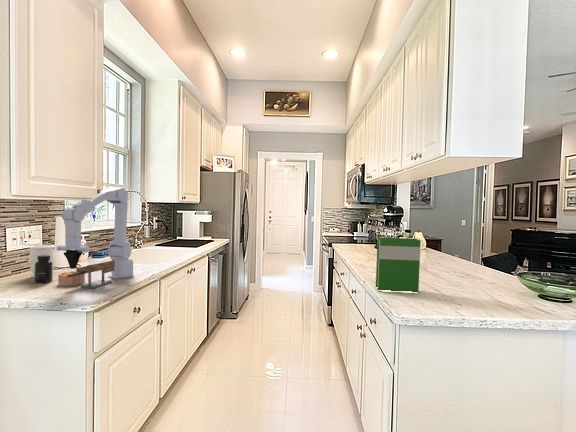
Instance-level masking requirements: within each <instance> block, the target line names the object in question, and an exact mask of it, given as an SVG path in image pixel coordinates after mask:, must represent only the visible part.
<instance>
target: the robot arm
mask: <svg viewBox="0 0 576 432" xmlns="http://www.w3.org/2000/svg"><path fill="white" fill-rule="evenodd" d="M105 201H106V202H108V203H109V204H112V205H113V206H114V207H115V211H114V212H115V213H114V226H113V227H114V229H113V230H114V231H113V233H114V234H113V240H111V241H110V242H109V245H108V248H107V256H108V257H109V259H110V260H111V261H115V267H114V271H111V272H110V273H111V274H108V275H107V276H108V277H109V278H112V279H115V280H116V279H122V278H123V279H124V278H130V277H134V276H135V275H134V261H133V259H132V257H131V255H132V248H131V243H130V241H128V239H127V227H128V226H127V225H128V222H127V221H128V208H129V207H128V205H129V204H128V203H129V202H128V201H129V192H128V191H127V190H126V188H124V187H105V188H103V189H101V191H100V192H99V193H97V194H96V195H95V196H93V197H91V198H90V199H89V198H83V199H81V201H80V202H78V203H77V204H73V205H72V207H66V208H65V209H64V210H63V212H62V214H61V219H62V220H63V224H64V226H65V227H64V230H65V231H64V235H65V238H64V245H56V251H58V252H59V251H63V255H64V257H65V258H66V261H67V263H68V266H69V269H70V270H71V269H76V268H78V264H79V263H78V262H79V260H80V258H81V257H82V255H83V253H90V251H91V247H90V246H83V245H82V221H83V220H84V219H85V216H86V215H88V214H90V213H91V212H93V211H94V210H95V208H96V206H98V205H100V204H102V203H103V202H105Z"/></svg>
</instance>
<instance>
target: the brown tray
mask: <svg viewBox="0 0 576 432" xmlns="http://www.w3.org/2000/svg"><path fill="white" fill-rule="evenodd" d="M114 267H115V261H112V260H110V261H104V262H99V263H93V264H89V265H86V266H85V265H84V266H80V267H76V268H75V270H76V271H77V272H78V273H74V274H70V275H67V276H68V277H73V276H77V275H81V274H85V275H86V274H88V270H91V273H94V272H99V271H100V272H102V270H103V271H104V274H107V273H111V271H114Z"/></svg>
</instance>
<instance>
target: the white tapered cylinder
mask: <svg viewBox="0 0 576 432" xmlns="http://www.w3.org/2000/svg"><path fill="white" fill-rule="evenodd" d="M54 248H56V246H55V245H54V244H34V245H33V244H32V245H29V249H30V251H29V254H28V262H29V267H30V268H29V269H30V271H31V273H32V274H31V277H32V278H35V263H36V262H37V261H38V260H37V259H38V256H39V255H50V261H51V262H52V263H53V268H54V266H55V260H56V254H55V249H54Z"/></svg>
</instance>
